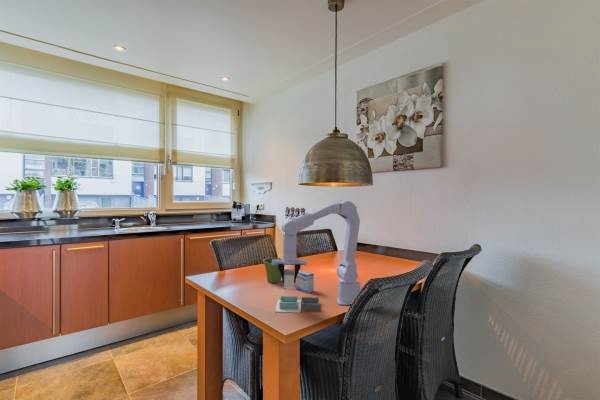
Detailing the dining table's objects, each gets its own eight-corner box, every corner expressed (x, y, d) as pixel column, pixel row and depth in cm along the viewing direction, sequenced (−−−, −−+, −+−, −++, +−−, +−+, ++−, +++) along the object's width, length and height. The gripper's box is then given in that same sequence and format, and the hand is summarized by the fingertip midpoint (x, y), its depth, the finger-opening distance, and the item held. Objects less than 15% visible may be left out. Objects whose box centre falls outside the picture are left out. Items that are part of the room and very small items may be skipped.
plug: (294, 285, 127) (294, 269, 127) (293, 288, 123) (294, 271, 123) (284, 285, 127) (284, 269, 127) (284, 288, 123) (284, 271, 123)
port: (300, 300, 132) (300, 294, 132) (300, 312, 119) (300, 305, 119) (277, 300, 132) (277, 293, 132) (275, 312, 119) (275, 305, 119)
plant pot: (258, 282, 158) (258, 261, 158) (271, 277, 168) (271, 257, 168) (277, 286, 152) (278, 263, 152) (289, 280, 163) (289, 259, 163)
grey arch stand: (318, 303, 130) (318, 297, 130) (319, 310, 121) (319, 304, 121) (301, 302, 130) (301, 297, 130) (301, 310, 121) (301, 304, 121)
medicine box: (295, 289, 148) (295, 271, 148) (302, 287, 151) (302, 270, 151) (307, 293, 142) (307, 275, 142) (313, 291, 145) (314, 273, 145)
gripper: (271, 251, 121) (270, 285, 121) (307, 251, 121) (306, 285, 121) (272, 248, 128) (272, 279, 128) (306, 248, 128) (306, 280, 128)
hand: (289, 282), depth 125 cm, fingers closed on plug, 4 cm apart
